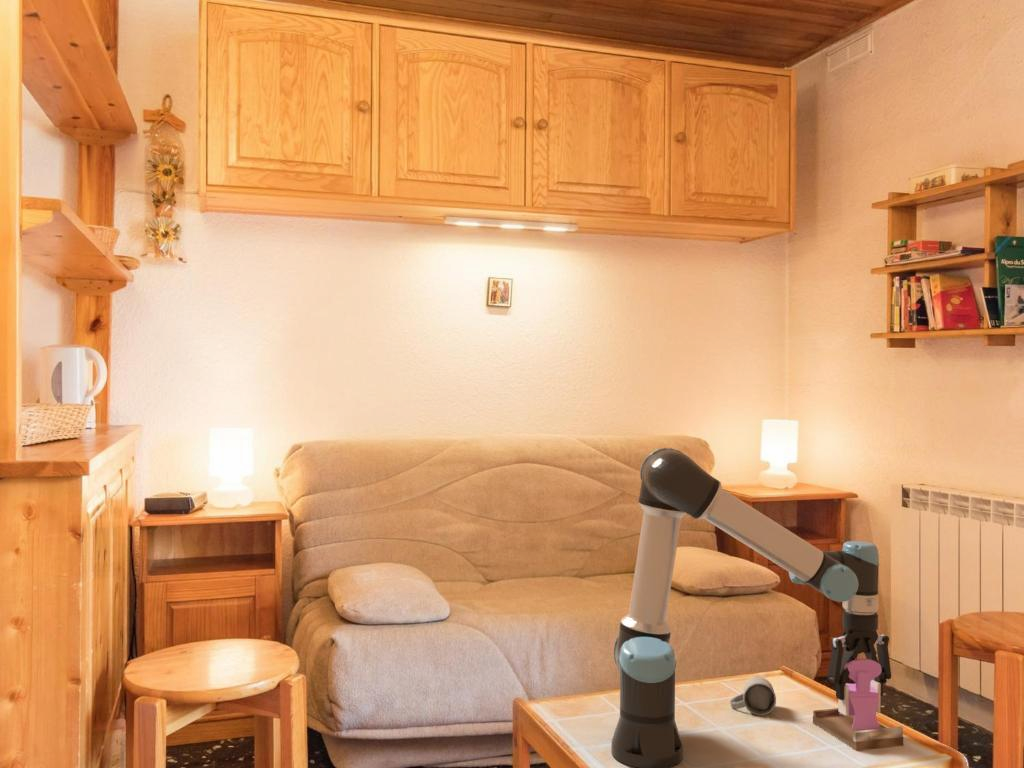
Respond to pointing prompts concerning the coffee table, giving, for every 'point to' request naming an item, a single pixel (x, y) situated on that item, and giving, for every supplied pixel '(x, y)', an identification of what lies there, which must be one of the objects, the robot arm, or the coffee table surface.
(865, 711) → the toy chair
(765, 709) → the ceramic mug
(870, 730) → the shelf board
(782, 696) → the coffee table surface
